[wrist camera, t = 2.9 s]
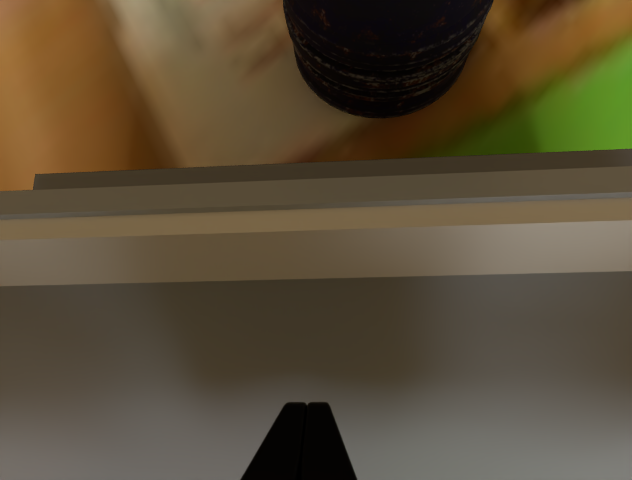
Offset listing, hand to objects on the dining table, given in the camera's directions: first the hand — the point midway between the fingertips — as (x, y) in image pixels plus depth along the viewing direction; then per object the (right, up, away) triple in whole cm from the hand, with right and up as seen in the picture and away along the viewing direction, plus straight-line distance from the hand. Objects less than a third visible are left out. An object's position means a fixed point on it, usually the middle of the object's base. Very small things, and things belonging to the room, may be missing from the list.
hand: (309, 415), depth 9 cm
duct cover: (0, 0, +3) cm, 3 cm away
